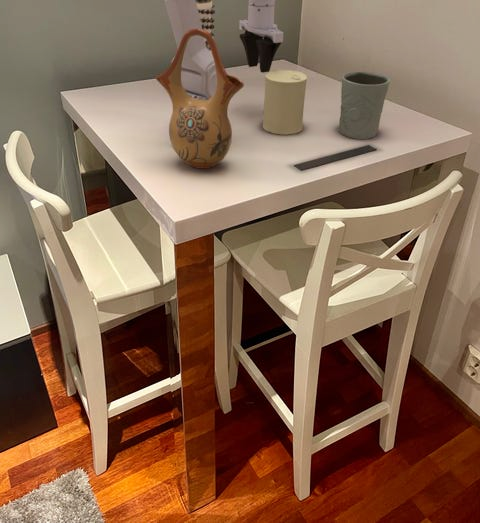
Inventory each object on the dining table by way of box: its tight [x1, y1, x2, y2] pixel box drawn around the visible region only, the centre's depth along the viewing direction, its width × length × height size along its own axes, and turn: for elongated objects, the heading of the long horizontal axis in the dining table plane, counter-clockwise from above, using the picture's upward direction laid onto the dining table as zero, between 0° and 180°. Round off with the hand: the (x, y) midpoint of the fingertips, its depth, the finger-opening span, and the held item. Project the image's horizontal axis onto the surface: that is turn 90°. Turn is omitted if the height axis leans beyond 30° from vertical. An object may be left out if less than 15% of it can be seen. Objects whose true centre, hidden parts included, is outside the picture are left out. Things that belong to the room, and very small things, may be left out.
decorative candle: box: [196, 0, 216, 53], centre depth 138 cm, size 9×9×25 cm
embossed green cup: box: [338, 71, 391, 140], centre depth 114 cm, size 10×10×12 cm
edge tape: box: [293, 144, 378, 171], centre depth 106 cm, size 20×2×1 cm, turn 122°
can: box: [261, 69, 308, 136], centre depth 115 cm, size 9×9×12 cm
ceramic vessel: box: [154, 28, 245, 169], centre depth 94 cm, size 16×9×25 cm, turn 76°
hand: (258, 69), depth 120 cm, fingers open, 4 cm apart
